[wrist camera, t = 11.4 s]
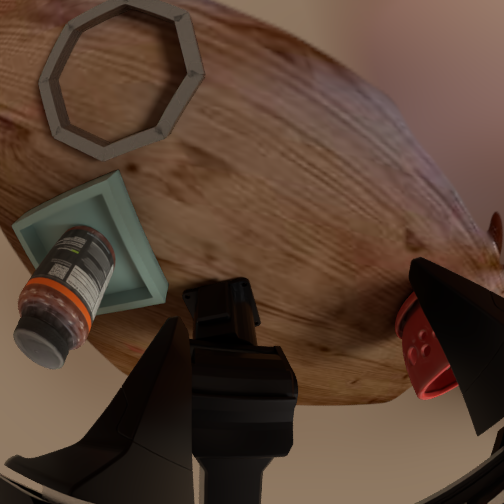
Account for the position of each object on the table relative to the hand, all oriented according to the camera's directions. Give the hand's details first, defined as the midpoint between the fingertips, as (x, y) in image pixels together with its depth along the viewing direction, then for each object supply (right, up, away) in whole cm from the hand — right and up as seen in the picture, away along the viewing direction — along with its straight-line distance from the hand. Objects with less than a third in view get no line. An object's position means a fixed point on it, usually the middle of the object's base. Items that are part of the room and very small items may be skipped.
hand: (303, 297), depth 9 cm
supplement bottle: (-16, +2, +12) cm, 20 cm away
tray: (-16, +2, +12) cm, 21 cm away
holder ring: (-11, +14, +5) cm, 19 cm away
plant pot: (+22, -5, +22) cm, 31 cm away
